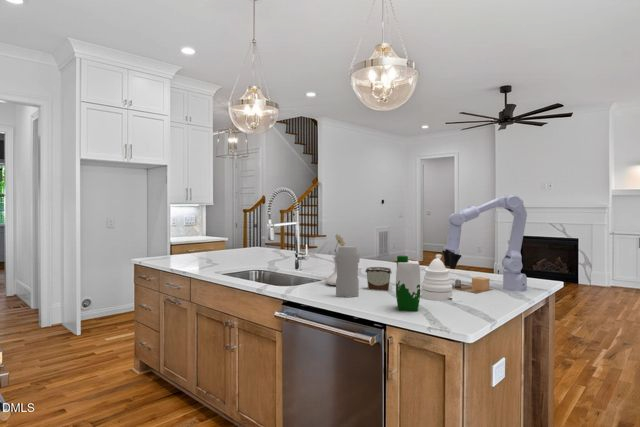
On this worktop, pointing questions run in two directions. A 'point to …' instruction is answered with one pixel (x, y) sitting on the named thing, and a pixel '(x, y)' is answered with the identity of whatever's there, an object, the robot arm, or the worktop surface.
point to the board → (468, 289)
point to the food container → (378, 278)
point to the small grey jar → (457, 283)
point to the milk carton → (407, 284)
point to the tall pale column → (347, 271)
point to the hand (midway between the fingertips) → (449, 267)
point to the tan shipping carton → (480, 283)
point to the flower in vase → (333, 277)
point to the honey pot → (436, 281)
